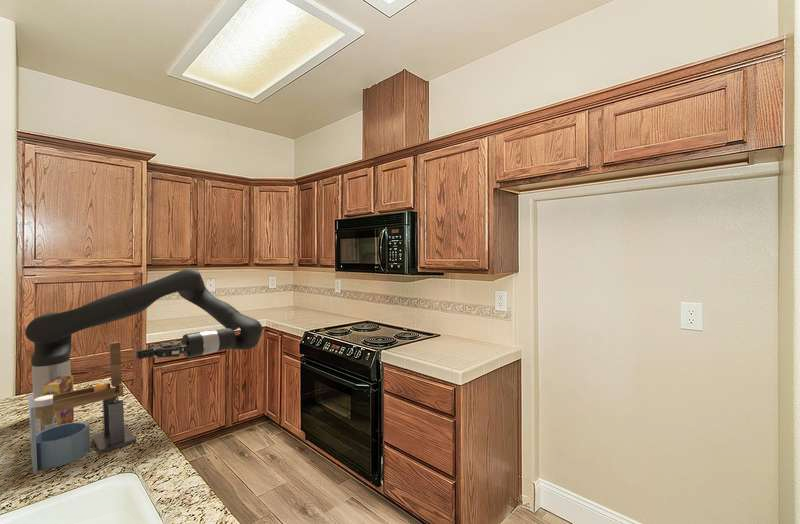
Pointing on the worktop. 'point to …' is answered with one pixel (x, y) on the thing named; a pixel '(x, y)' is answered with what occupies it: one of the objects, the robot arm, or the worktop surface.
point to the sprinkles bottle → (44, 413)
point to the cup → (57, 442)
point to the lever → (88, 394)
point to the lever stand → (113, 428)
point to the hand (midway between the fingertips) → (137, 355)
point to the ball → (100, 387)
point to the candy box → (59, 387)
